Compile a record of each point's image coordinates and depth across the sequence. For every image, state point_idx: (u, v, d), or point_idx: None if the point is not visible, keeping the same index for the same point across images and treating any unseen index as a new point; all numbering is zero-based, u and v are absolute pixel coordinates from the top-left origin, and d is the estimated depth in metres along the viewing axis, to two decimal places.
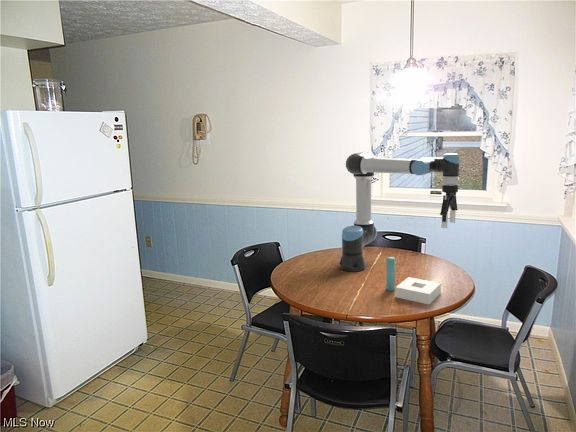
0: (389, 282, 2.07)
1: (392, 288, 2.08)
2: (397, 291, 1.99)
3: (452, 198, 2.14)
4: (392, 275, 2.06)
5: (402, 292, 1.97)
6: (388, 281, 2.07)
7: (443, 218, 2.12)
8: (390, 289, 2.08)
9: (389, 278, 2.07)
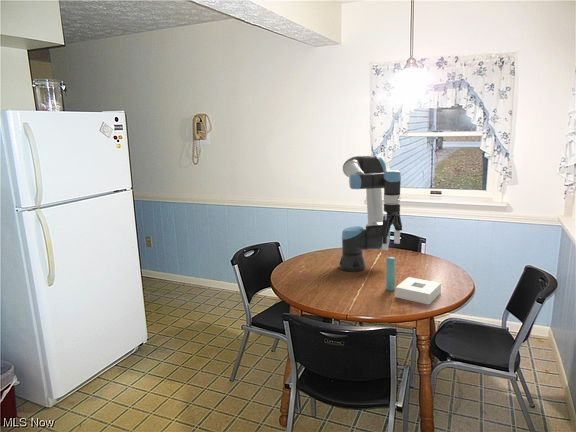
0: (389, 282, 2.07)
1: (392, 288, 2.08)
2: (397, 291, 1.99)
3: (393, 218, 2.00)
4: (392, 275, 2.06)
5: (402, 292, 1.97)
6: (388, 281, 2.07)
7: (383, 240, 1.98)
8: (390, 289, 2.08)
9: (389, 278, 2.07)
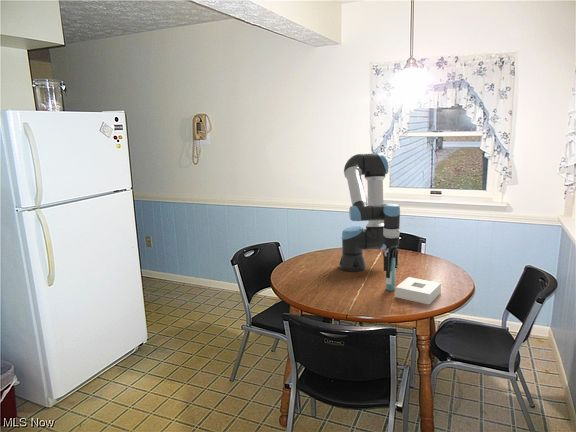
0: None
1: (392, 288, 2.08)
2: (397, 291, 1.99)
3: (393, 251, 2.03)
4: (392, 275, 2.06)
5: (402, 292, 1.97)
6: None
7: (387, 274, 2.05)
8: (390, 289, 2.08)
9: None
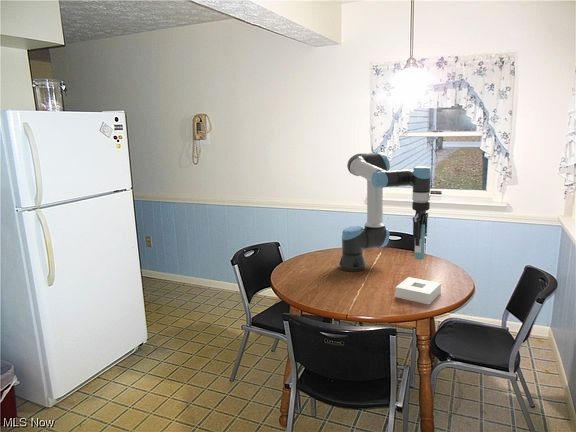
0: None
1: (421, 257, 1.95)
2: (397, 291, 1.99)
3: (423, 217, 1.91)
4: (422, 243, 1.94)
5: (402, 292, 1.97)
6: None
7: (416, 242, 1.93)
8: (419, 258, 1.96)
9: None
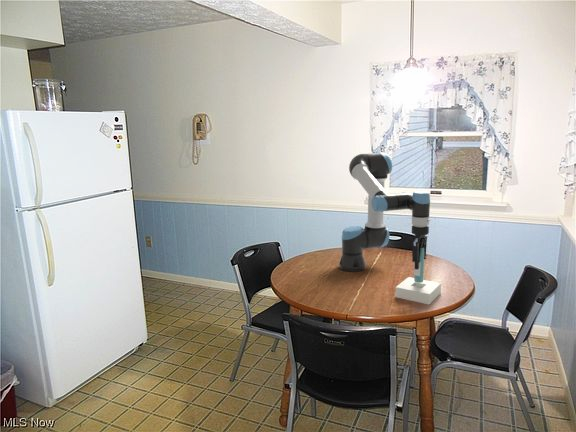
0: None
1: (421, 280, 1.98)
2: (397, 291, 1.99)
3: (422, 241, 1.93)
4: (421, 266, 1.96)
5: (402, 292, 1.97)
6: None
7: (415, 265, 1.95)
8: (419, 281, 1.98)
9: None
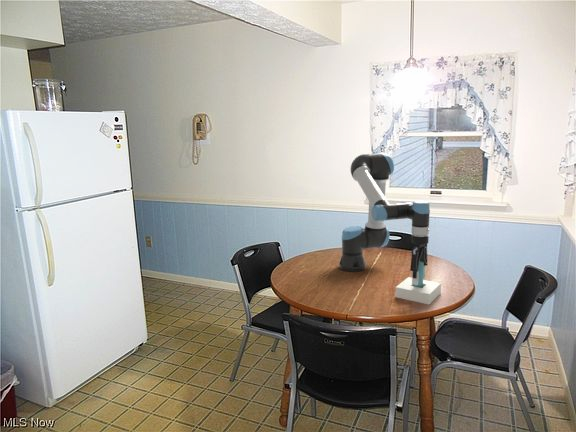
0: None
1: None
2: (397, 291, 1.99)
3: (422, 250, 1.94)
4: (420, 280, 1.98)
5: (402, 292, 1.97)
6: None
7: (413, 274, 1.94)
8: None
9: None
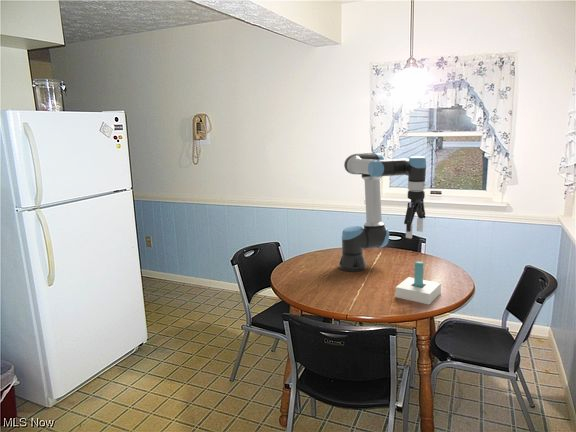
0: None
1: None
2: (397, 291, 1.99)
3: (418, 205, 1.95)
4: (420, 280, 1.98)
5: (402, 292, 1.97)
6: None
7: (407, 227, 1.93)
8: None
9: (417, 283, 1.98)
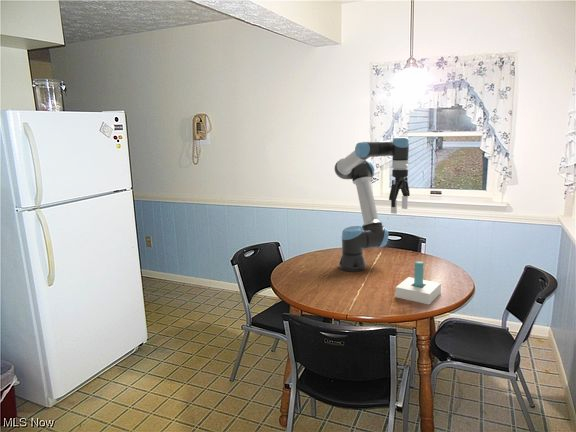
0: None
1: None
2: (397, 291, 1.99)
3: (402, 183, 2.09)
4: (420, 280, 1.98)
5: (402, 292, 1.97)
6: None
7: (392, 203, 2.07)
8: None
9: (417, 283, 1.98)
